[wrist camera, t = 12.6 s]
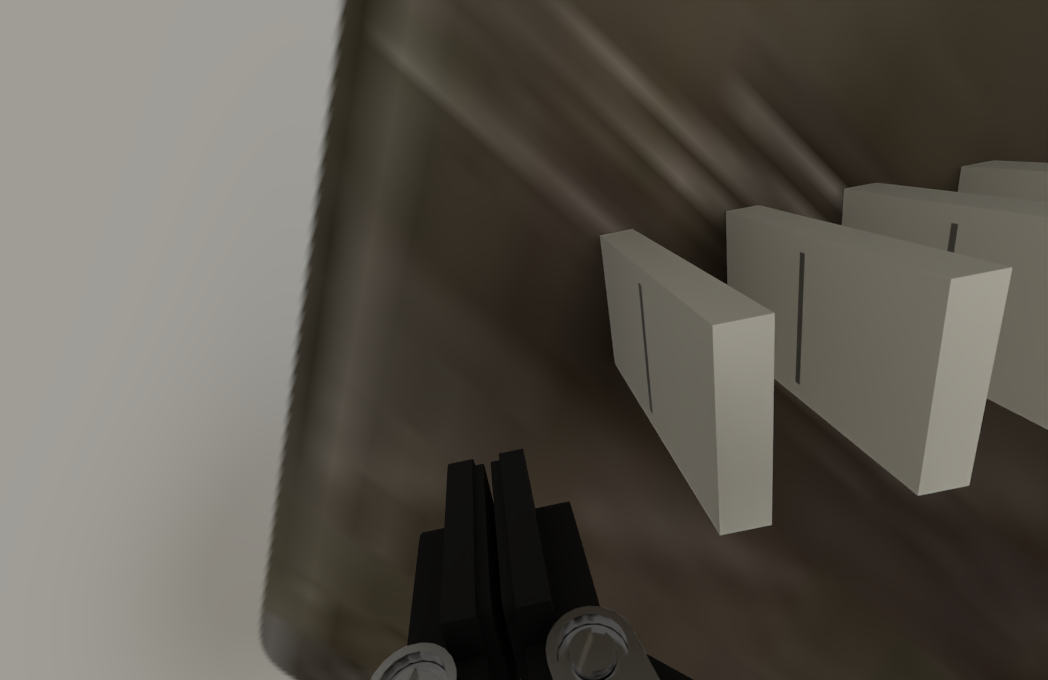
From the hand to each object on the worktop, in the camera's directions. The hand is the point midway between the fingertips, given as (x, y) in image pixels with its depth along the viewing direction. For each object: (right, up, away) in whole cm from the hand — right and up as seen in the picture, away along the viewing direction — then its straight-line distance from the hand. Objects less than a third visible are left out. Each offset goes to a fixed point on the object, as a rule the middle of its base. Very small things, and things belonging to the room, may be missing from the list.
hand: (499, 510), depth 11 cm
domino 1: (+5, +6, +11) cm, 13 cm away
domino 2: (+10, +7, +11) cm, 17 cm away
